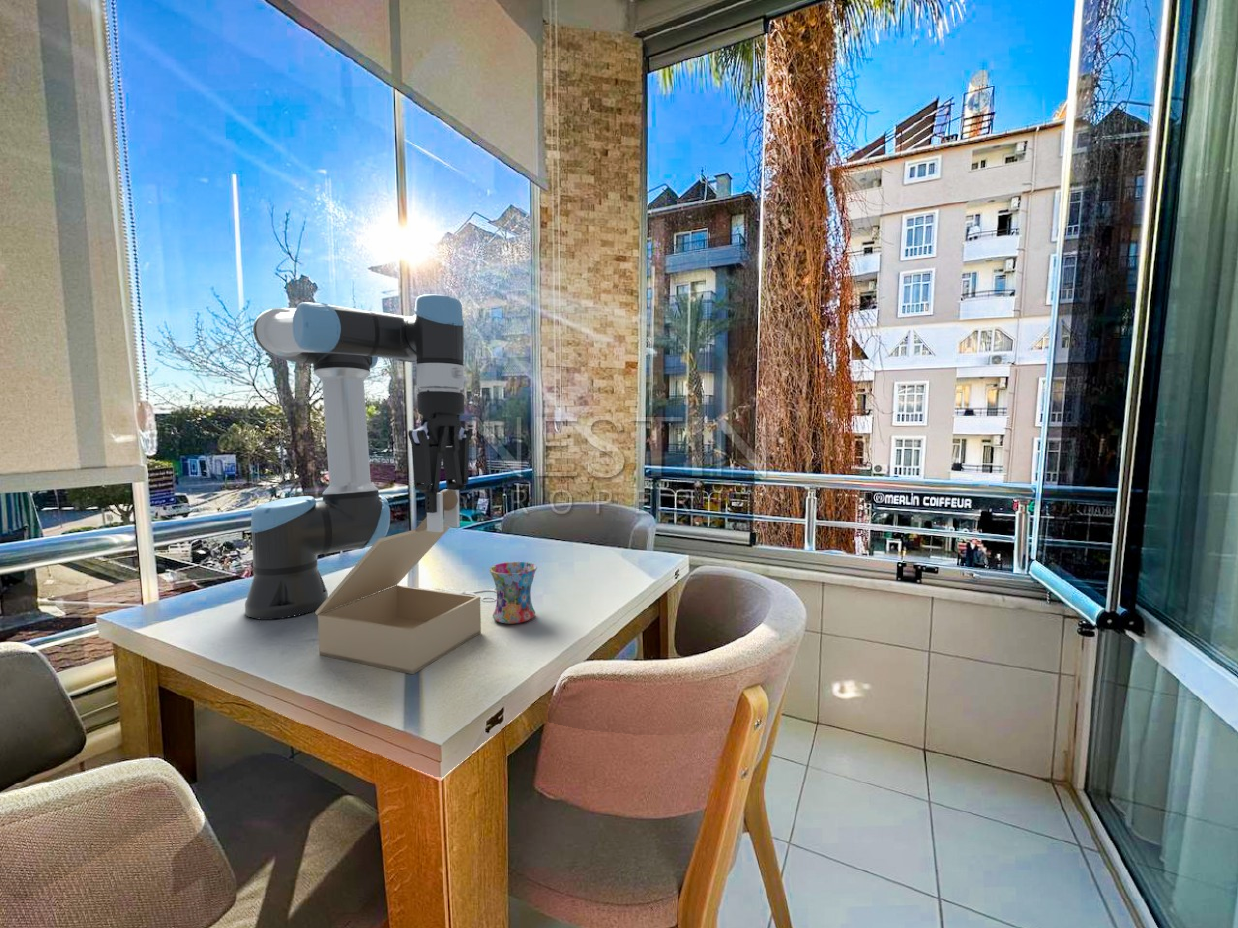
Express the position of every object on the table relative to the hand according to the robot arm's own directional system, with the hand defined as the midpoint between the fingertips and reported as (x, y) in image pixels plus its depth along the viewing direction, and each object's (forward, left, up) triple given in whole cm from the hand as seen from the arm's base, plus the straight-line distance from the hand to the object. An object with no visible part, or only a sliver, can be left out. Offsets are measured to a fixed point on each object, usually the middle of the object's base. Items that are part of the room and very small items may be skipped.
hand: (443, 528), depth 91 cm
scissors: (-16, +28, -22) cm, 39 cm away
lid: (-7, 0, -5) cm, 9 cm away
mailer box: (-9, 0, -22) cm, 23 cm away
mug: (+3, +19, -22) cm, 29 cm away
